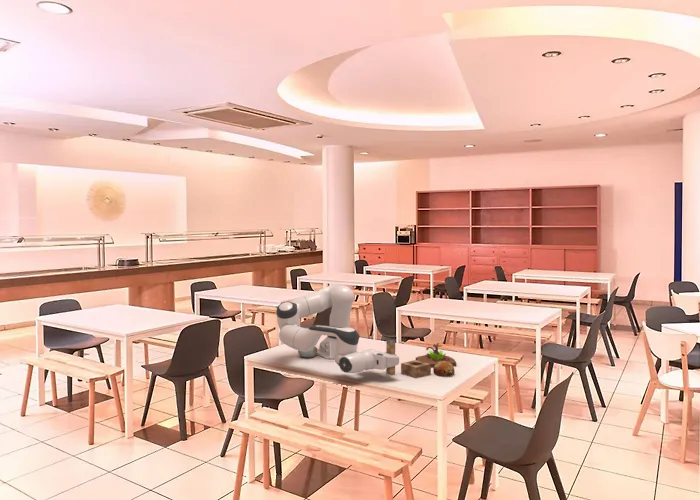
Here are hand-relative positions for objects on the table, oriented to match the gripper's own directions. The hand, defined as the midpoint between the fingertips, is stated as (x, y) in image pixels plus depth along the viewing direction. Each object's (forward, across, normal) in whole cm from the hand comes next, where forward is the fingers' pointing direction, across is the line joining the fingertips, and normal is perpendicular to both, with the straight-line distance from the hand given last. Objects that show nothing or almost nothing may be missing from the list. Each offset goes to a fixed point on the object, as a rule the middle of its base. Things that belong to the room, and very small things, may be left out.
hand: (392, 354), depth 248 cm
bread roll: (+19, +16, -9) cm, 27 cm away
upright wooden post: (-1, 0, -9) cm, 9 cm away
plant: (+32, +1, -10) cm, 33 cm away
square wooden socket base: (+8, +8, -9) cm, 15 cm away
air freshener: (-13, -52, -9) cm, 54 cm away
